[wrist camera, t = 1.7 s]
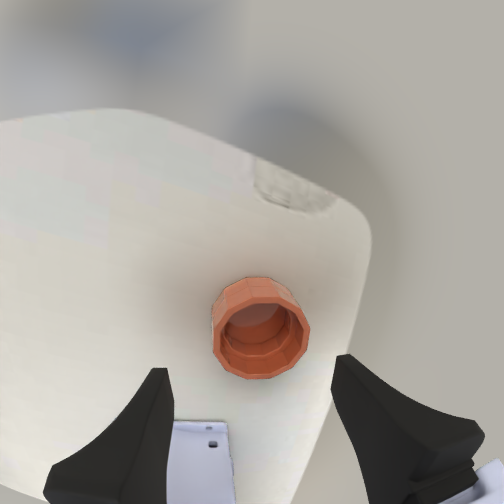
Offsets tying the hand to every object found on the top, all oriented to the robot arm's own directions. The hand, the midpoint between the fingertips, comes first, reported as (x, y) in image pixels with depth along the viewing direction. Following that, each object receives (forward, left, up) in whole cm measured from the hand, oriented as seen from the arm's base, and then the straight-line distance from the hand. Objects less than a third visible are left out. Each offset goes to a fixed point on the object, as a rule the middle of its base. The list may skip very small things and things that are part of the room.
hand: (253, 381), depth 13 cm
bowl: (-1, +1, -9) cm, 9 cm away
